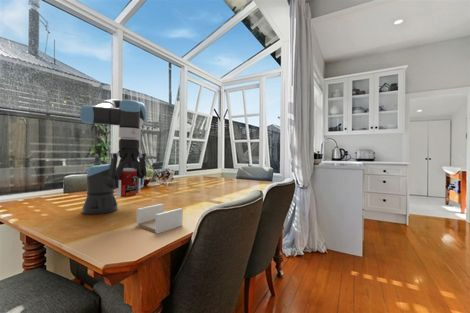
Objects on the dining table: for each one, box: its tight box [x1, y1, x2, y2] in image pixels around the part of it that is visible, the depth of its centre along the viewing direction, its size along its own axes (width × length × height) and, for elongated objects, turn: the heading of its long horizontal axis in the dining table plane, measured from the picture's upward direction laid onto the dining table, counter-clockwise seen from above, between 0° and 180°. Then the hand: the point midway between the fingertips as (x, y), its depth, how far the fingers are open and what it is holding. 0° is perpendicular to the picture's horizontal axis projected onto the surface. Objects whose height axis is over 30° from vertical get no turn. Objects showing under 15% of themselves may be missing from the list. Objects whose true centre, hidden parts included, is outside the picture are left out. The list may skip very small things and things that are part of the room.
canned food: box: [116, 168, 137, 198], centre depth 91 cm, size 8×8×11 cm
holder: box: [135, 203, 184, 234], centre depth 91 cm, size 14×12×7 cm
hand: (128, 194), depth 90 cm, fingers closed on canned food, 8 cm apart
